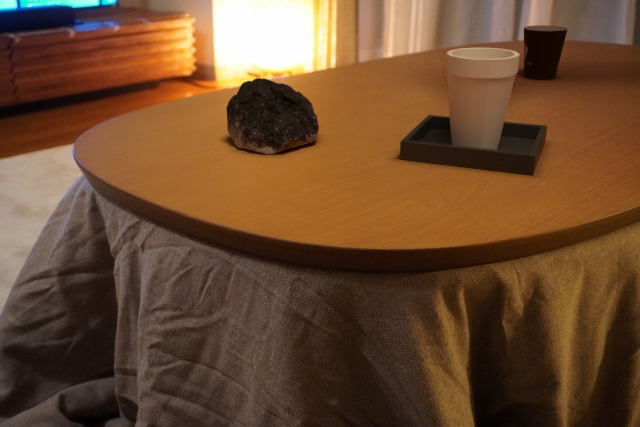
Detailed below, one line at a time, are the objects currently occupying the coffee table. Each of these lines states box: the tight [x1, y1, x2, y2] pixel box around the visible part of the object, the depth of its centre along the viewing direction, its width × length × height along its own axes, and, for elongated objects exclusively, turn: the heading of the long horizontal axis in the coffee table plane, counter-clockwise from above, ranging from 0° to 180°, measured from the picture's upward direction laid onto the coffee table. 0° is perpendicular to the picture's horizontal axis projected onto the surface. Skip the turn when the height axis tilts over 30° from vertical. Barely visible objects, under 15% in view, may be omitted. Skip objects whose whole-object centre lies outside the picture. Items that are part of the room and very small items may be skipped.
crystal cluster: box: [225, 77, 320, 155], centre depth 93 cm, size 13×14×10 cm
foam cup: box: [445, 47, 521, 150], centre depth 85 cm, size 10×9×13 cm
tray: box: [399, 114, 548, 176], centre depth 88 cm, size 18×15×3 cm
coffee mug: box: [523, 24, 568, 81], centre depth 131 cm, size 12×9×10 cm
